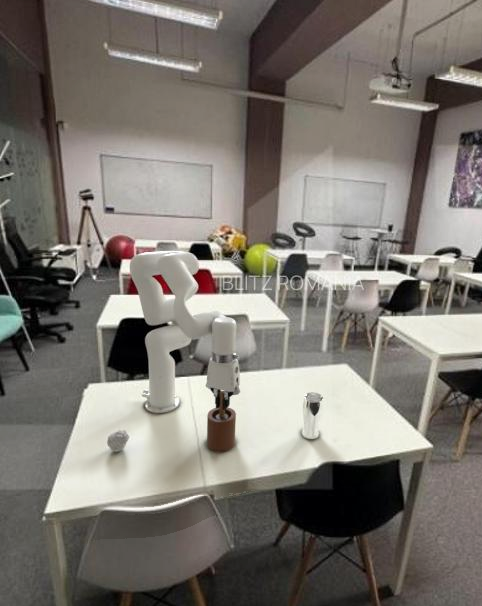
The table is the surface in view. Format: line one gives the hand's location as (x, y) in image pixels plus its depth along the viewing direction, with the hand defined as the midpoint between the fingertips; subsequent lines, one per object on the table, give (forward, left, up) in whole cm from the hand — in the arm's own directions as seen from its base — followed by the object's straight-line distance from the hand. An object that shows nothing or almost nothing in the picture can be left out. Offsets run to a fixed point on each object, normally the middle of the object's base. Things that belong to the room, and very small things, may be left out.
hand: (222, 406), depth 125 cm
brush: (0, 0, -9) cm, 9 cm away
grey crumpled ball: (-28, -16, -14) cm, 35 cm away
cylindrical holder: (0, 0, -14) cm, 14 cm away
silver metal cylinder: (+27, +17, -14) cm, 35 cm away
